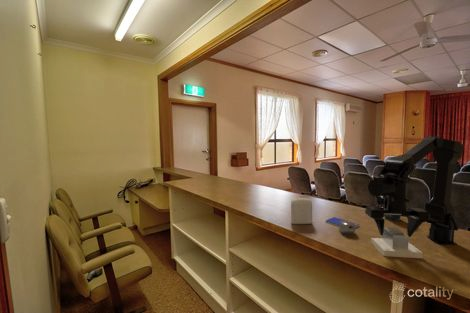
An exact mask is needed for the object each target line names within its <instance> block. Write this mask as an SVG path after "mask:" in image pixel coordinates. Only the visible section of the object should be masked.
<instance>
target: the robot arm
mask: <svg viewBox="0 0 470 313" xmlns="http://www.w3.org/2000/svg"><path fill="white" fill-rule="evenodd" d="M464 150H465V146H464V144H463V143H462V142H461V141H459V140H451V139H447V138H443V137H440V136H426V137H424V138H422V140H421V141H420V142H418V143H417V144H416V145H414V146H413V147H411V148H410V149H409V150H407V151H406V152H404V153H403V154H399V155H396V156H393V157H391V158H389V159H387V160H386V161H385V164H383V167H382V168H381V170H380V172H379V173H378V174H377V176H373V178H372V180H370V181H369V183H368V185H367V190H368V192H369V194H370V195H372V196H373V197H374V198H373V199H374V200H373V203H374V205H377V206H372V205H370V206H366V207H365V211H364V212H365V214H366V215H367V216H369V217H370V218H371V219H373V220H374V221H375V224H376V227H377V229H378V232H379V235H380V236H381V237H383V232H384V227H385V222H386V220H385V219H384V218H385V216H384V215H397V216H403V217H406V218H407V231H406V234H407V235H408V236H409V238H411V237H412V235H413V234H415V232H416V230H418V228H419V227H420V226H421V225H422V224H423V223H427V224H430V227H429V229H428V235H427V236H426V237H427V238H429V240H431V241H433V242H435V243H436V244H438V245H439V244H440V245H455V246H456V245H458V243H457V242H456V241H455V231H459V230H460V228H461V224H462V223H461V222H460V221H459V219H458V218H457V217H456V209H455V207H454V205H453V204H452V202H451V196H452V195H451V194H452V186H453V181H454V180H453V179H454V172H455V171H454V170H455V165H456V163H457V162H459V161H460V160H461V158H462V156H463V152H465V151H464ZM430 154H431V156H432V157H433V159H434V161H435V162H436V169H435V175H434V176H435V178H434V185H433V195H432V199H431V200H430V201H429V202H426V203H425V204H424V207H425V208H423V209H422V208H420V207H408V208H407V202H408V203H409V201H410V199H409V198H408V197H407V196H408V183H409V182H413V180H412V178H410V175H411V174H412V173H413V172H414V171H415V170H416V165H417V164H418V163H419V162H420V161H421V160H423V159H424V158H425V157H427V156H428V155H430ZM382 197H384V198H382ZM384 208H385V209H387V210H384Z"/></svg>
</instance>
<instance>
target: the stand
mask: <svg viewBox="0 0 470 313" xmlns="http://www.w3.org/2000/svg"><path fill="white" fill-rule="evenodd" d="M370 243H371V245H372V246H374V248H376V250H377V251H378V252H379V253H380V254H381V255H382V256H384V257H395V258H409V259H410V258H412V259H423V252H422V251H421V250H419V248H417V247H416V246H414V245H413V244H411V243H410V242H409V243H408V250H404V249H392V248H391V247H390V246H389V245H388V244H387V243H385V242H384V241H383V237H382V238H381V237H370Z"/></svg>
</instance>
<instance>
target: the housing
mask: <svg viewBox="0 0 470 313" xmlns="http://www.w3.org/2000/svg"><path fill="white" fill-rule="evenodd" d="M382 238H383V241H384V242H385V243H387V244H388V245H389V246H390V247H391V248H392V249H404V250H408V243H410V242H409V241H410V240H409V239H410V237H409V236H408V235H407V233H406V232H404V231H403V230H401V229H399V228H398V227H395V226H386V227H385V226H384V232H383V236H382Z"/></svg>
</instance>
